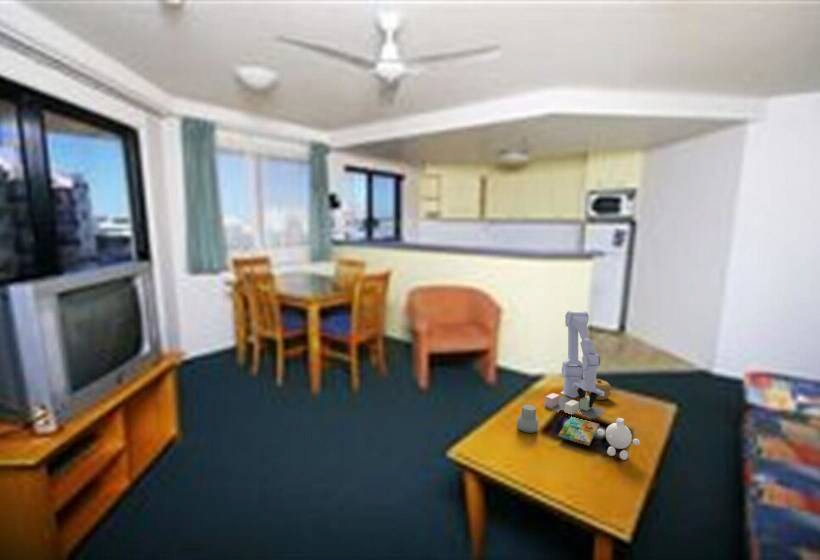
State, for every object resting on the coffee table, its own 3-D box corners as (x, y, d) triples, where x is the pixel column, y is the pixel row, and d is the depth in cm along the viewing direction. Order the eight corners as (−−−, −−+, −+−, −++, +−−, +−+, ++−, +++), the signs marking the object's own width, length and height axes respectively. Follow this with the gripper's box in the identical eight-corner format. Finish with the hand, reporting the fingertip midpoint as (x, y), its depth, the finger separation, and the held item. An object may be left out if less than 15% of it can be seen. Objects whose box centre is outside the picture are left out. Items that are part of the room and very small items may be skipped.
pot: (602, 393, 226) (604, 375, 225) (614, 402, 215) (616, 383, 213) (581, 393, 226) (582, 375, 224) (591, 402, 214) (593, 383, 213)
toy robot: (593, 453, 166) (596, 417, 164) (597, 443, 174) (601, 408, 172) (636, 466, 158) (640, 428, 156) (638, 455, 166) (643, 419, 164)
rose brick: (552, 401, 212) (552, 392, 211) (558, 404, 210) (559, 395, 209) (544, 405, 207) (545, 396, 207) (551, 407, 205) (552, 398, 204)
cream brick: (571, 408, 205) (572, 399, 204) (578, 411, 202) (579, 402, 202) (564, 412, 200) (564, 403, 200) (571, 415, 198) (572, 405, 197)
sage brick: (586, 404, 209) (587, 395, 208) (593, 406, 206) (594, 397, 206) (579, 408, 204) (580, 399, 203) (586, 410, 201) (587, 401, 201)
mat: (563, 396, 220) (563, 395, 220) (606, 411, 204) (606, 410, 204) (542, 406, 207) (542, 406, 207) (587, 423, 191) (587, 423, 191)
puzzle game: (599, 422, 183) (589, 440, 167) (598, 432, 184) (588, 451, 168) (571, 414, 190) (558, 431, 173) (570, 424, 190) (557, 442, 174)
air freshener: (536, 437, 177) (538, 414, 175) (516, 433, 180) (518, 410, 178) (537, 425, 187) (539, 404, 186) (518, 422, 190) (520, 400, 188)
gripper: (570, 375, 206) (568, 402, 208) (600, 385, 195) (597, 413, 197) (577, 372, 210) (575, 398, 212) (607, 381, 200) (604, 409, 202)
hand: (586, 405), depth 205 cm, fingers closed on sage brick, 3 cm apart
